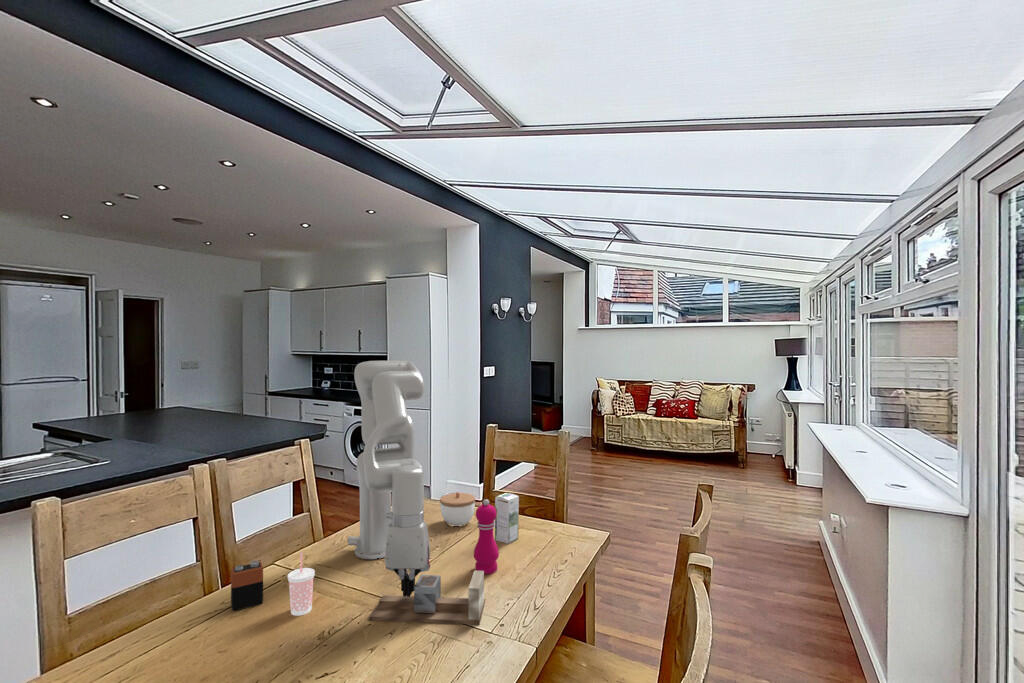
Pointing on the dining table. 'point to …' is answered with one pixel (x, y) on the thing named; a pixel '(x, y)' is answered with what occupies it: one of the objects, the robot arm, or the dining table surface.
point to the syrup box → (506, 517)
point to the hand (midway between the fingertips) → (408, 593)
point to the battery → (246, 585)
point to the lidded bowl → (457, 508)
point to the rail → (445, 607)
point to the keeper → (427, 593)
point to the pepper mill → (486, 539)
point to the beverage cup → (301, 589)
